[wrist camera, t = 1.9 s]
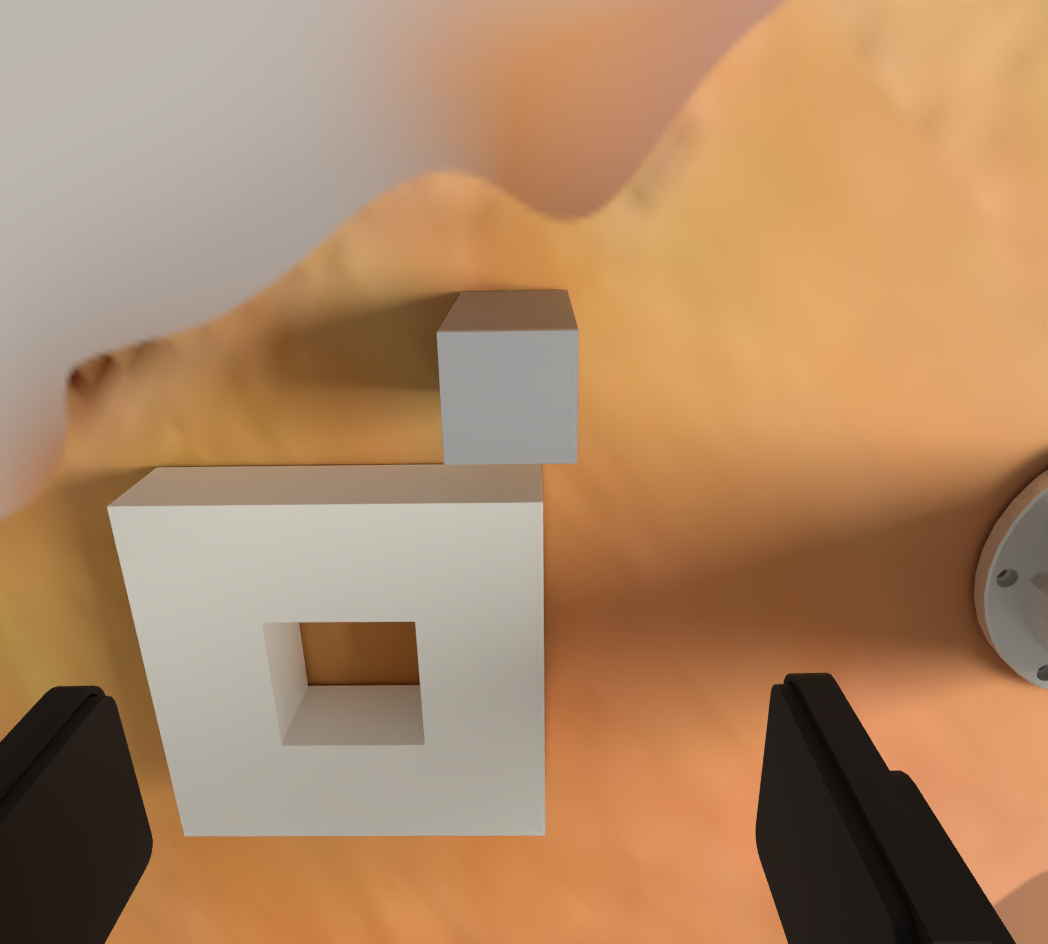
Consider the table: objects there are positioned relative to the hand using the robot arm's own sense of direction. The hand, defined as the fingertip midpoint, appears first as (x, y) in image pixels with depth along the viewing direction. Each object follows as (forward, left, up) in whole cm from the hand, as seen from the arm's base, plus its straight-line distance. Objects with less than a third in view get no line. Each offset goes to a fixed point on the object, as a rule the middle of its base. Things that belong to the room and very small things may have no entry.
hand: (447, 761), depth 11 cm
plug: (-1, -2, -21) cm, 21 cm away
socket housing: (+6, +11, -21) cm, 25 cm away
